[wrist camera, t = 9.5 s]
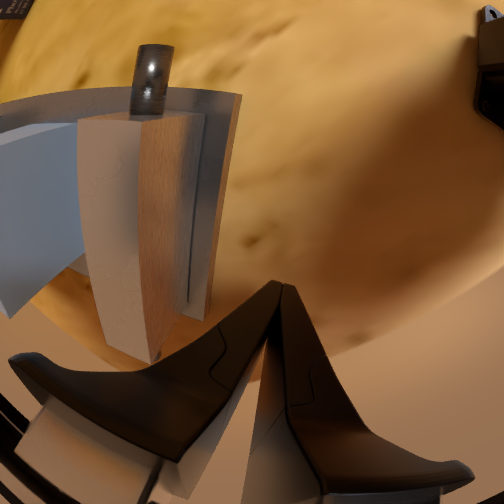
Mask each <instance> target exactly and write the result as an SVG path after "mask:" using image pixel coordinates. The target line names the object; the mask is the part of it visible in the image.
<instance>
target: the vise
mask: <svg viewBox="0 0 504 504" xmlns="http://www.w3.org/2000/svg"><path fill="white" fill-rule="evenodd" d="M131 90H132V87H106V88H91V89H81V90H72V91H64V92H57V93H50V94H44V95H39V96H33V97H28V98H24V99H19V100H15V101H11V102H7V103H3V104H0V134H1V133H4V132H7V131H10V130H13V129H17V128H20V127H24V126H27V125H31V124H46V123H78V119H81V118H87V117H92V116H98V115H104V114H111V113H118V112H125V111H129V107H130V98H131ZM241 99H242V95H241V94H236V93H229V92H222V91H213V90H203V89H192V88H177V87H167V93H166V100H165V107H164V110H175V111H185V112H194V113H202V114H206V117H205V123H204V130H203V136H202V143H201V150H200V158H199V165H198V173H197V182H196V191H195V200H194V209H193V220H192V231H191V243H190V256H189V271H188V289H187V306H186V308H185V309H184V311H183V313H182V315H185V316H188V317H191V318H194V319H196V320H199V321H202V322H203V321H204V319H205V317H206V315H207V313H208V311H209V305H210V297H211V289H212V281H213V273H214V265H215V258H216V250H217V243H218V236H219V229H220V222H221V215H222V209H223V202H224V196H225V190H226V183H227V177H228V171H229V165H230V159H231V153H232V148H233V142H234V136H235V131H236V125H237V120H238V115H239V109H240V104H241ZM67 267H68V268H70V269H72V270H74V271H76V272H78V273H81V274H83V275H85V276H87V277H89V278H90V276H89V271H88V266H87V260H86V254H85V252H84V253H83V254H82V255H81V256H79V257H78V258H77V259H76V260H75V261H73V262H72V263H71V264H70V265H68V266H67Z"/></svg>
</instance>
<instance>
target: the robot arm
mask: <svg viewBox="0 0 504 504" xmlns="http://www.w3.org/2000/svg"><path fill="white" fill-rule="evenodd" d="M490 13H491V14H492V16H493V17H492V16H491V14H490ZM477 67H478V76H477V83H476V89H475V95H474V101H473V105H474V109H475V111H476V113H477V114H478V115H479V116H481V117H482V118H484V119H485V120H487V121H488V122H490V123H491V124H492V125H494V126H495V127H497V128H498V129H499V130H501V131H502V132H503V133H504V15H503V14H501V13H500V12H499V11H498V10H496V9H495V8H494V7H492V6H490V5H487V6H484V7H483V8H482V24H481V25H480V30H479V48H478V59H477ZM482 102H484V104H485V110H483V108H482ZM266 340H267V341H266ZM265 343H266V347H265V354H264V361H263V368H262V375H261V382H260V389H259V396H258V403H257V410H256V416H255V423H254V430H253V435H252V441H251V448H250V454H249V455H250V456H249V459H248V465H247V472H246V477H245V483H244V488H243V494H242V499H241V504H443V495H445V494H447V493H449V492H452V491H454V490H456V489H458V488H461V487H463V486H465V485H467V484H468V483H470V482H472V481H473V480H474V479H475V475H474V473H473V472H472V470H471V469H470V468H469V467H468V466H466V465H465V464H463V463H462V462H460V461H457V460H451V461H445V462H435V461H430V460H427V459H424V458H421V457H419V456H417V455H415V454H413V453H410V452H409V451H407V450H405V449H403V448H400V447H399V446H397V445H394V444H393V443H391V442H389V441H387V440H385V439H383V438H381V437H379V436H377V435H376V434H374V433H373V432H372V431H371V430H370V429H369V428H368V427H367V426H366V425H365V424H364V422H363V421H362V419H361V417H360V416H359V414H358V412H357V411H356V409H355V407H354V406H353V404H352V402H351V401H350V399H349V397H348V396H347V394H346V392H345V391H344V389H343V387H342V385H341V384H340V382H339V380H338V378H337V376H336V375H335V372H334V370H333V368H332V366H331V364H330V362H329V359H328V357H327V356H326V353H325V350H324V348H323V346H322V344H321V342H320V339H319V337H318V335H317V333H316V330H315V328H314V326H313V324H312V322H311V319H310V317H309V315H308V313H307V311H306V309H305V306H304V304H303V302H302V300H301V298H300V296H299V294H298V291H297V289H296V287H295V286H293V285H290V284H286V283H284V284H282V282H279V281H275V280H270V281H269V282H268V283H267V284H266V285H264V286H263V287H262V288H261V289H260V290H258V291H257V292H256V293H255V294H254V295H252V296H251V297H250V298H249V299H247V300H246V301H245V302H244V303H243V304H241V305H240V306H239V307H238V308H237V309H235V310H234V311H233V312H232V313H230V314H229V315H228V316H227V317H225V318H224V319H223V320H222V321H220V322H219V323H218V324H217V325H216V326H214V327H213V328H212V329H210V330H209V331H208V332H207V333H205V334H204V335H202V336H201V337H200V338H198V339H197V340H195V341H194V342H192V343H190V344H189V345H187V346H186V347H184V348H182V349H180V350H179V351H177V352H175V353H173V354H172V355H170V356H168V357H166V358H164V359H163V360H161V361H159V362H157V363H155V364H153V365H152V366H150V367H147V368H145V369H142V370H138V371H132V372H89V371H74V370H70V369H66V368H63V367H60V366H58V365H57V364H55V363H53V362H52V361H51V360H49V359H48V358H46V357H45V356H43V355H42V354H40V353H37V352H31V353H20V354H16V355H14V356H12V357H10V358H9V359H8V362H9V364H10V366H11V368H12V369H13V371H14V372H15V374H16V375H17V376H18V377H19V379H20V380H21V381H22V383H23V384H24V385H25V386H26V388H27V389H28V390H29V391H30V393H31V394H32V395H33V396H34V397H35V398H36V399H37V400H38V402H39V403H40V404H41V405H42V406H41V407H40V409H39V410H38V411H37V413H36V414H35V416H34V418H33V419H32V420H31V422H30V421H29V420H28V419H27V418H25V417H24V416H23V415H22V414H21V413H20V412H19V411H18V410H17V409H16V408H15V407H13V406H12V404H11V403H10V402H9V401H8V400H7V399H6V398H5V397H4V396H2V394H1V393H0V494H1V495H2V496H3V497H4V498H5V499H6V500H7V501H8V502H9V503H10V504H169V503H170V501H171V499H172V496H173V495H176V496H178V497H181V498H184V499H187V500H188V499H189V497H190V495H191V493H192V492H193V490H194V488H195V486H196V484H197V483H198V481H199V479H200V477H201V475H202V473H203V472H204V470H205V468H206V466H207V464H208V462H209V460H210V458H211V456H212V454H213V453H214V451H215V449H216V446H217V445H218V443H219V441H220V439H221V437H222V435H223V433H224V431H225V429H226V427H227V425H228V423H229V421H230V419H231V417H232V414H233V413H234V411H235V409H236V406H237V404H238V402H239V400H240V398H241V396H242V394H243V392H244V390H245V387H246V385H247V383H248V381H249V379H250V377H251V374H252V372H253V370H254V368H255V366H256V363H257V361H258V359H259V357H260V354H261V352H262V350H263V348H264V345H265ZM477 504H504V491H503V492H501V493H499V494H497V495H495V496H493V497H490V498H488V499H486V500H484V501H482V502H480V503H477Z"/></svg>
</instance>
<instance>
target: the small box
mask: <svg viewBox="0 0 504 504" xmlns="http://www.w3.org/2000/svg"><path fill="white" fill-rule="evenodd" d="M33 1H34V0H0V20H5V19H24V18H25V16H26V14H27V12H28V10H29V8H30V6H31V4H32V2H33Z"/></svg>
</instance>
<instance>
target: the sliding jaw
mask: <svg viewBox="0 0 504 504" xmlns="http://www.w3.org/2000/svg"><path fill="white" fill-rule="evenodd" d="M173 53H174V47H173V46H168V45H160V44H147V45H140V46H139V48H138V53H137V58H136V64H135V70H134V76H133V83H132V90H131V98H130V107H129V111H125V112H118V113H111V114H104V115H98V116H92V117H87V118H81V119H78V123H77V179H78V195H79V208H80V218H81V226H82V234H83V241H84V248H85V254H86V260H87V266H88V271H89V276H90V281H91V286H92V290H93V295H94V299H95V303H96V307H97V311H98V315H99V319H100V322H101V326H102V329H103V333H104V336H105V339H106V343H107V344H108V345H109V346H111V347H113V348H115V349H118V350H120V351H122V352H124V353H126V354H128V355H130V356H132V357H134V358H137V359H139V360H141V361H143V362H146V363H148V364H150V365H151V364H152V362H154V361H157V360H158V359H159V358H160V357H161V347H162V345H163V344H164V342H165V340H166V339H167V337H168V336H169V334H170V332H171V331H172V329H173V327H174V326H175V324H176V322H177V321H178V319H179V318H180V316H181V314H182V313H183V311H184V309H185V308H186V306H187V289H188V271H189V256H190V243H191V231H192V220H193V209H194V200H195V191H196V182H197V173H198V165H199V158H200V150H201V143H202V136H203V130H204V123H205V117H206V114H202V113H194V112H185V111H175V110H164V107H165V100H166V93H167V87H168V81H169V75H170V69H171V64H172V58H173Z"/></svg>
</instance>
